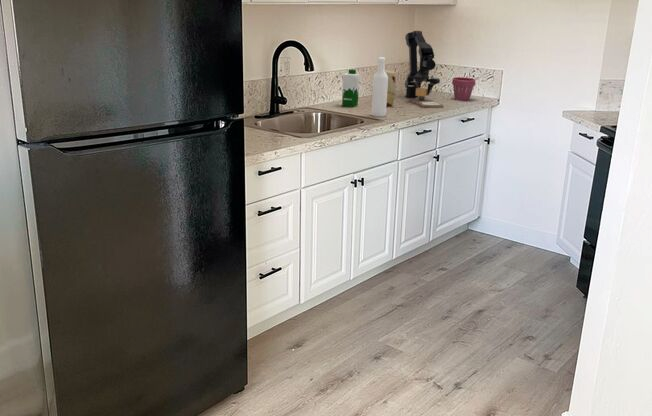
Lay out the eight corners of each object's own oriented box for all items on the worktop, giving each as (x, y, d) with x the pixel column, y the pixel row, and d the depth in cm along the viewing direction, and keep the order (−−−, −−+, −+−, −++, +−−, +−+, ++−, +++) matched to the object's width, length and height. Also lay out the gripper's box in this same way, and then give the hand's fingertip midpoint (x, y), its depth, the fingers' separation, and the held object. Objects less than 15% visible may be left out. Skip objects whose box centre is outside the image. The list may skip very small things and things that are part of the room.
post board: (408, 100, 379) (409, 88, 377) (427, 100, 382) (428, 88, 379) (423, 108, 357) (424, 94, 355) (443, 107, 360) (444, 94, 357)
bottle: (371, 116, 329) (374, 58, 319) (370, 113, 336) (373, 56, 327) (386, 117, 329) (390, 58, 319) (385, 114, 337) (388, 57, 327)
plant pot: (475, 101, 383) (477, 80, 379) (452, 101, 383) (454, 79, 379) (471, 98, 397) (473, 77, 393) (448, 97, 397) (450, 76, 393)
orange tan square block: (415, 95, 373) (415, 88, 371) (419, 94, 377) (420, 87, 376) (424, 96, 370) (425, 89, 368) (428, 95, 375) (429, 88, 373)
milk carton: (359, 105, 360) (361, 70, 354) (354, 107, 352) (356, 71, 346) (345, 104, 363) (346, 68, 356) (339, 106, 355) (341, 70, 348)
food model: (376, 105, 362) (378, 70, 355) (381, 103, 367) (383, 69, 360) (391, 107, 357) (394, 71, 350) (396, 105, 362) (399, 70, 356)
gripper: (404, 67, 366) (402, 94, 371) (433, 70, 357) (431, 97, 362) (411, 66, 375) (410, 92, 380) (441, 68, 366) (438, 95, 371)
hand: (422, 94), depth 373 cm, fingers open, 7 cm apart
